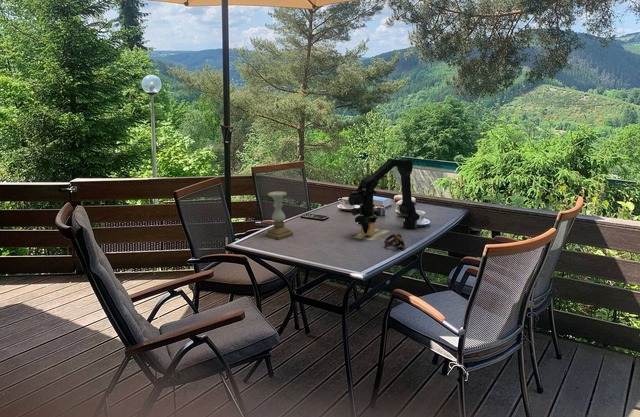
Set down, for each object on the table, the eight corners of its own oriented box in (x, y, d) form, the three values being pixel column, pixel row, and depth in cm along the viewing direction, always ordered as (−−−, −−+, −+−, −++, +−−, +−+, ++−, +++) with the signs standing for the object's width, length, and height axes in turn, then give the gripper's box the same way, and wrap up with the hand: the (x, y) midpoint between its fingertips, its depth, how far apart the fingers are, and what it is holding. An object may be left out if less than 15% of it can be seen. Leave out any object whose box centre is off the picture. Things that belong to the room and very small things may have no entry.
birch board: (390, 232, 264) (390, 230, 263) (375, 242, 247) (375, 240, 247) (369, 229, 270) (369, 228, 270) (352, 239, 254) (352, 237, 253)
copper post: (371, 236, 255) (371, 228, 254) (369, 237, 252) (369, 230, 252) (366, 235, 256) (366, 228, 255) (364, 236, 254) (364, 229, 253)
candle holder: (280, 232, 271) (278, 190, 265) (293, 235, 263) (291, 192, 258) (265, 236, 263) (262, 193, 258) (278, 240, 256) (275, 196, 250)
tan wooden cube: (374, 232, 255) (374, 222, 253) (370, 235, 250) (370, 225, 249) (365, 231, 257) (365, 221, 256) (360, 234, 253) (360, 224, 252)
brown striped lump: (404, 253, 231) (396, 239, 229) (388, 259, 236) (379, 245, 234) (410, 240, 240) (402, 227, 239) (394, 246, 246) (386, 233, 244)
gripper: (361, 198, 262) (362, 225, 265) (345, 205, 246) (346, 234, 250) (380, 199, 256) (380, 228, 260) (365, 207, 241) (365, 237, 244)
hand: (367, 231), depth 254 cm, fingers closed on tan wooden cube, 5 cm apart
